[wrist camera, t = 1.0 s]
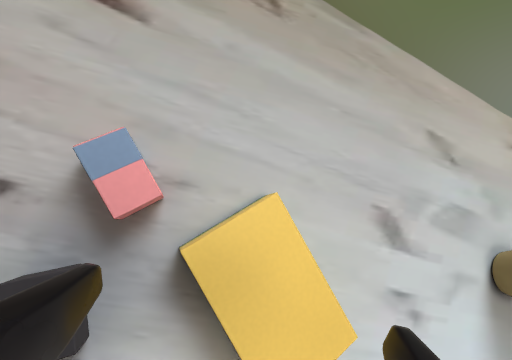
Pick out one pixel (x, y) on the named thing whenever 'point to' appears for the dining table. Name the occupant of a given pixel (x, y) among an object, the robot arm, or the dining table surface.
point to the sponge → (268, 286)
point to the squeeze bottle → (503, 272)
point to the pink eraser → (118, 172)
